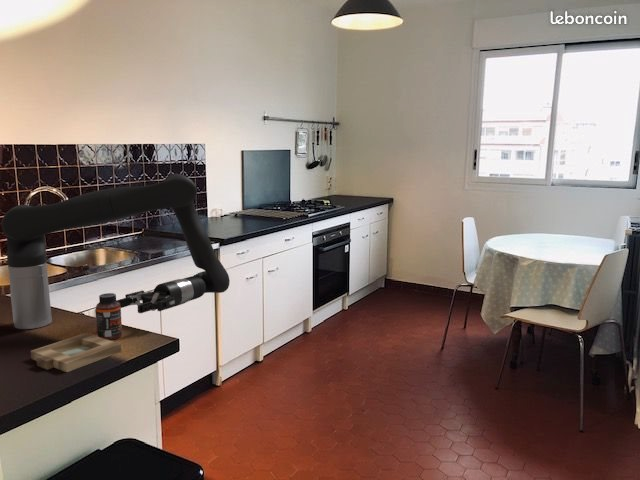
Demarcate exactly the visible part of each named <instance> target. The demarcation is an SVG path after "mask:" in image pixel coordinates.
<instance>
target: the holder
mask: <svg viewBox="0 0 640 480" xmlns="http://www.w3.org/2000/svg"><path fill="white" fill-rule="evenodd" d="M121 344H122V343H119V342H116V341H114V340H107V339H103V338H100V337H98V335H97V336H95V335H93V334H90V333H86V332H84V333H82V334H78V335H76V336H75V335H74V336H72V337H69V338H66V339H63V340H60V341H57V342H54V343H51V344H48V345H44V346H42V347H38V348H35V349H32V350H30V357H31V358H30V359H31V360H33V361H36V366H37V367H39V368H42V369H45V370H47V371H48V370H51V369H53V368H55V369H57V370H59V371H62V372H64V373H65V372H66V373H69V372H71V371H74V370H77V369H80V368H82V367H84V366H87V365H90V364H93V363H95V362H98V361H101V360H103V359H106V358H108V357H110V356H113V355H116V354H118V353H121V352H122V345H121Z"/></svg>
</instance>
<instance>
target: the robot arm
mask: <svg viewBox="0 0 640 480" xmlns="http://www.w3.org/2000/svg"><path fill="white" fill-rule="evenodd" d="M197 189H198V188H197V185H196V183H195V182H194V181H193V180H192V179H191V178H190V177H188V176H186V175H184V174H181V173H172V174H169V175H168V176H166V177H165V178H164V180H163V181H160V182H156V183H153V184H149V185H143V186H119V187H110V188H104V189H100V190H99V189H98V190H94V191H90V192H87V193H83V194H78V195H77V196H73V197H71V198H69V199H65V200H61V201H59V202H56V203H50V204H43V205H35V206H32V205H29V204H19V205H15V206H13V207H11V208H10V209H9V210H8V211H7V212H5V214H4V215H3V217H2V221H1V229H2V232H3V233H4V235H6V243H7V245H6V246H7V252H6V253H7V254H6V259H7V269H8V279H9V286H10V287H9V288H10V303H11V310H12V321H13V325H14V326H13V327H14V328H15V329H17V330H31V329H38V328H42V327H45V326H48V325H50V324H51V323H52V322H53V318H52V309H51V308H52V307H51V298H50V297H51V296H50V286H49V276H48V266H47V248H46V246H47V245H46V244H47V243H46V236H45V235H49V234H52V233H55V232H59V231H63V230H67V229H75V228H83V227H89V226H90V227H91V226H95V225H101V224H105V223H110V222H114V221H120V220H123V219H126V218H131V217H134V216H138V215H140V214H144V213H148V212H151V211H157V210H164V209H165V210H167V209H172V211H173V213H174V214H175V217H176V219H177V220H178V224H179V225H180V228H181V230H182V233H183V237H184V240H185V242H186V245H187V248H188V251H189V253H190V256H191V258H192V260H193V264H194V265H195V267H197V268H198V269H201V270H203V271H200V272H197V273H196V274H194V275H192V276H189V277H188V276H187V277H184V278H177V279H174V280H170V281H165V282H162V283H159V284H157V285H156V286H155V288H154V289H153V290H152V291H150V290H149V291H146V292H145V290H139V291H135V292H131V293H127V294H125V297H124V298H121V299H117V301H118V302H119V303H120V306H121V309H122V308H127V307H129V306H135V305H136V306H137V313H139V314H143V313H147V312H150V311H152V312H155V311H156V310H157V312H162V311H165V310H168V309H172V308H174V307H177V306H182V305H184V304H186V303H187V302H190V301H194V300H196V299H199V298H201V297H202V296H204V295H205V293H211V294H212V293H213V294H215V293H216V294H220V293H225V292H227V290H228V289H229V287H230V275H229V273H228V271H227V270H226V269H225V267H224V265H223V264H222V262H221V261H220V260H219V258H218V257H217V255H216V253H215V249H214V247H213V244H212V243H211V240H210V238H209V235H208V233H207V231H206V229H205V227H204V226H203V222H202V221H201V219H200V217H199V214H198V212H197V209H196V206H195V201H194V200H195V199H196V197H197V194H198V190H197Z"/></svg>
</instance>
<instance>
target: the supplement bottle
mask: <svg viewBox="0 0 640 480" xmlns="http://www.w3.org/2000/svg"><path fill="white" fill-rule="evenodd" d="M98 299H99V300H98V301H99V302H98V303H97V304H96V305H95V317H96V332H97V337H100V338H103V339H107V340H110V341H114V340H117V339H119V338H120V337H121V336H122V335H123V327H122V326H123V324H122V310H121V309H122V308H121V306H120V303H119V302H118V299H117V295H116V293H113V292H109V293H107V292H106V293H102V294H100V295H99V296H98Z"/></svg>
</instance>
